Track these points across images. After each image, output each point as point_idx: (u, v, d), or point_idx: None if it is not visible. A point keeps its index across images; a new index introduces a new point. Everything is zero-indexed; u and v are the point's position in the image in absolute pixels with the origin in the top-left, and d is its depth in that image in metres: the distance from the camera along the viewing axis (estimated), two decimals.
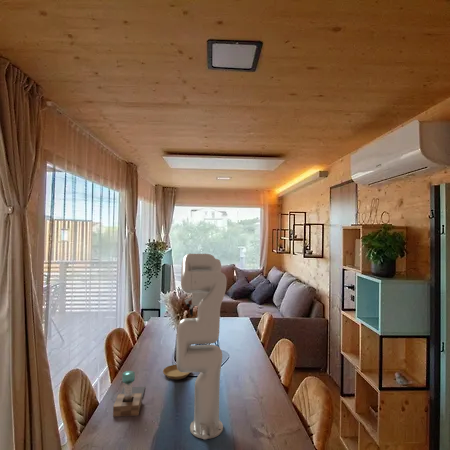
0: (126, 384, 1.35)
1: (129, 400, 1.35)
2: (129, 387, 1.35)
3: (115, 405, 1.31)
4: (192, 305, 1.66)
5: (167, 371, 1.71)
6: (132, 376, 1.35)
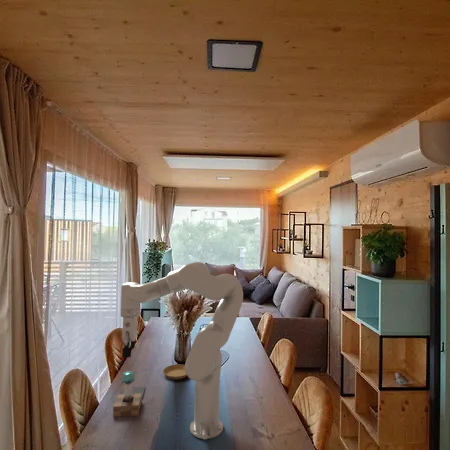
0: (126, 384, 1.35)
1: (129, 400, 1.35)
2: (129, 387, 1.35)
3: (115, 405, 1.31)
4: (130, 342, 1.32)
5: (167, 371, 1.71)
6: (132, 376, 1.35)
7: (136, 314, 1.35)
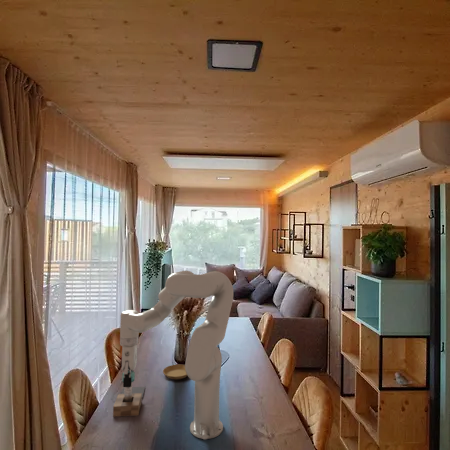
0: None
1: (129, 400, 1.35)
2: (129, 387, 1.35)
3: (115, 405, 1.31)
4: (130, 372, 1.33)
5: (167, 371, 1.71)
6: (132, 376, 1.35)
7: (135, 343, 1.35)
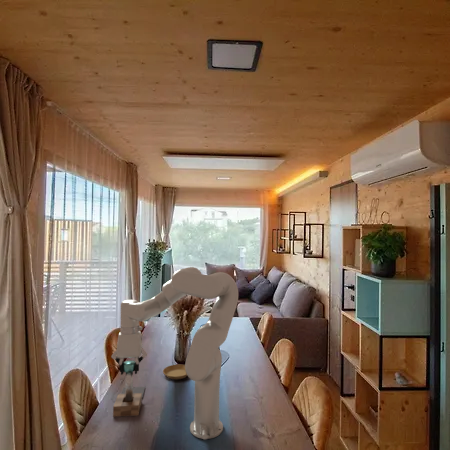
0: (132, 372, 1.36)
1: None
2: None
3: (115, 405, 1.31)
4: (137, 356, 1.38)
5: (167, 371, 1.71)
6: None
7: None
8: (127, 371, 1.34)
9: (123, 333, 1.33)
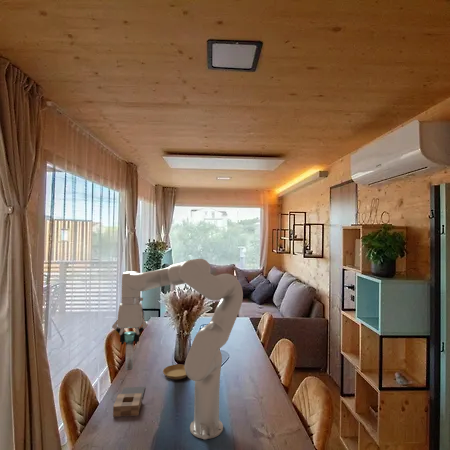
0: (132, 343, 1.37)
1: None
2: None
3: (115, 405, 1.31)
4: (138, 327, 1.39)
5: (167, 371, 1.71)
6: None
7: None
8: (127, 341, 1.35)
9: (124, 303, 1.34)
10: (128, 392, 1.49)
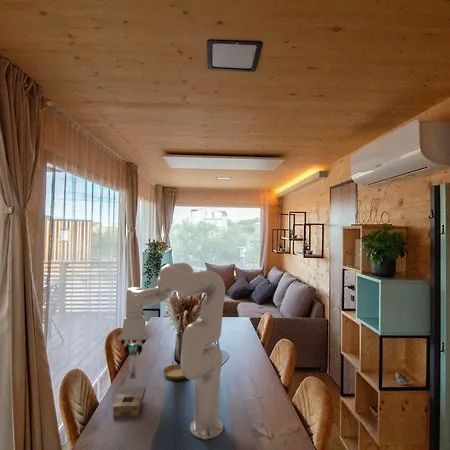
0: (136, 353, 1.49)
1: None
2: None
3: (115, 405, 1.31)
4: (141, 339, 1.51)
5: (167, 371, 1.71)
6: None
7: None
8: (131, 352, 1.47)
9: (128, 317, 1.46)
10: (128, 392, 1.49)
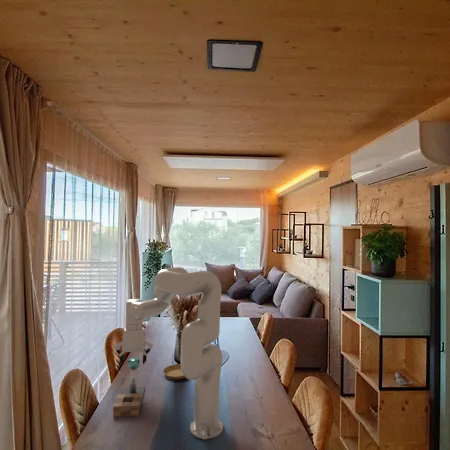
0: (136, 369, 1.48)
1: None
2: None
3: (115, 405, 1.31)
4: (144, 349, 1.51)
5: (167, 371, 1.71)
6: None
7: None
8: (132, 367, 1.46)
9: (128, 329, 1.46)
10: (128, 392, 1.49)
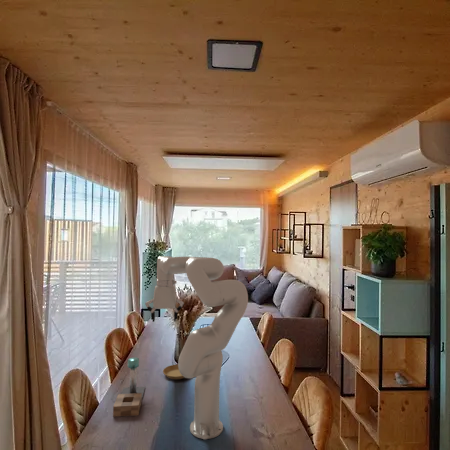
0: (136, 368, 1.49)
1: None
2: None
3: (115, 405, 1.31)
4: (175, 307, 1.49)
5: (167, 371, 1.71)
6: None
7: None
8: (131, 367, 1.47)
9: (160, 285, 1.44)
10: (128, 392, 1.49)
